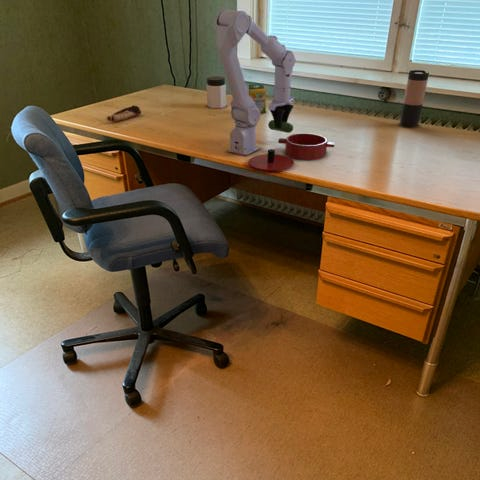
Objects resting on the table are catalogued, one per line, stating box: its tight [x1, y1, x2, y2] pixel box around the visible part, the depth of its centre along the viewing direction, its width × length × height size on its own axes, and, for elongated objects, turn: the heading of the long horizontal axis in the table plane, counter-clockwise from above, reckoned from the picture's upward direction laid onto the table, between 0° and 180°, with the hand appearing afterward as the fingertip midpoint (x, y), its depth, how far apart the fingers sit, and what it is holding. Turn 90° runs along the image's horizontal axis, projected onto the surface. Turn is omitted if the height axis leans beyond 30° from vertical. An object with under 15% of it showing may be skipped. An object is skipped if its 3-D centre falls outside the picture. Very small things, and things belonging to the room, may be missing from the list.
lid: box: [247, 148, 295, 172], centre depth 165 cm, size 15×15×5 cm
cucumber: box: [267, 119, 294, 134], centre depth 184 cm, size 10×3×3 cm, turn 55°
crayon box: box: [248, 83, 267, 114], centre depth 216 cm, size 7×3×12 cm, turn 105°
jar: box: [205, 75, 227, 109], centre depth 226 cm, size 9×8×12 cm
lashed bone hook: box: [106, 104, 142, 122], centre depth 212 cm, size 9×5×18 cm
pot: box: [277, 132, 336, 161], centre depth 174 cm, size 14×20×5 cm
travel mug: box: [399, 69, 430, 129], centre depth 197 cm, size 8×8×20 cm
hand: (280, 126), depth 184 cm, fingers closed on cucumber, 3 cm apart
